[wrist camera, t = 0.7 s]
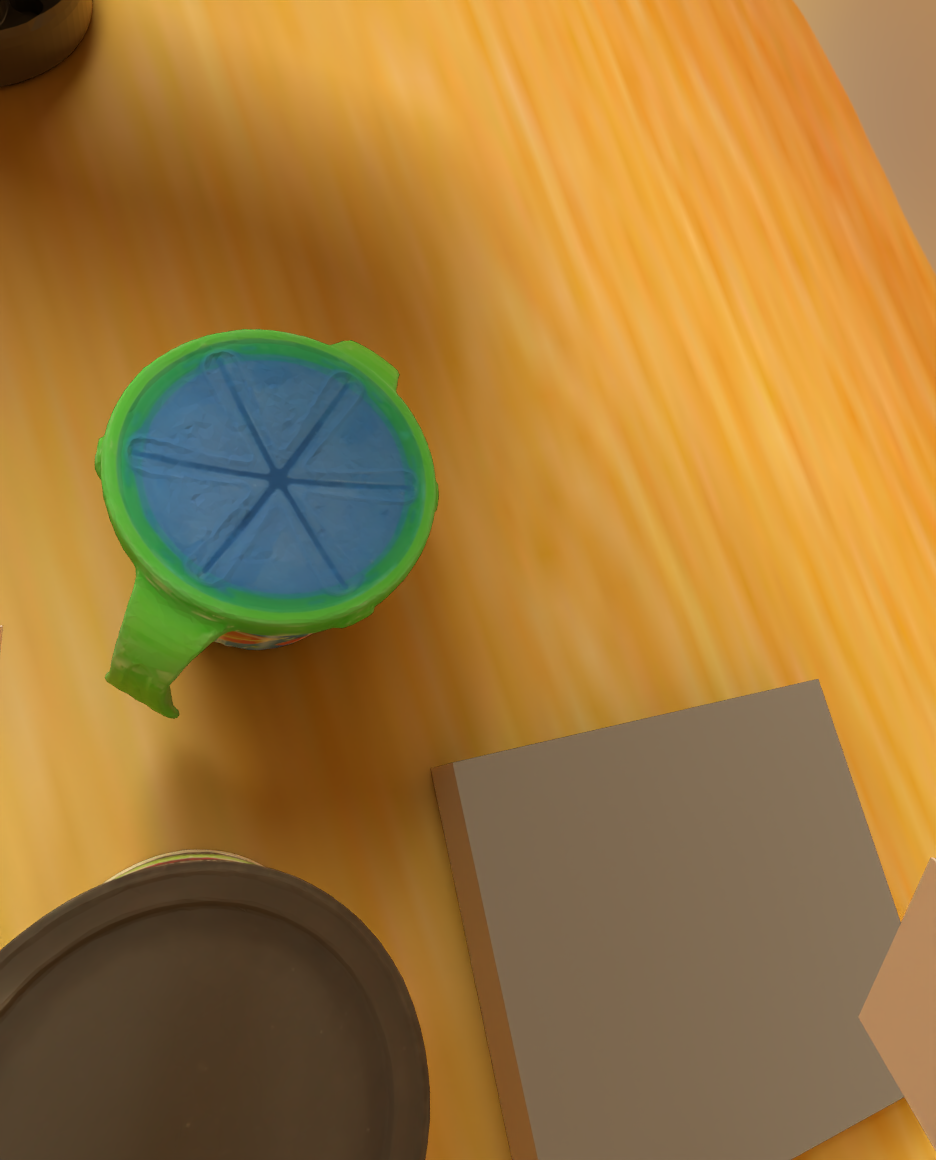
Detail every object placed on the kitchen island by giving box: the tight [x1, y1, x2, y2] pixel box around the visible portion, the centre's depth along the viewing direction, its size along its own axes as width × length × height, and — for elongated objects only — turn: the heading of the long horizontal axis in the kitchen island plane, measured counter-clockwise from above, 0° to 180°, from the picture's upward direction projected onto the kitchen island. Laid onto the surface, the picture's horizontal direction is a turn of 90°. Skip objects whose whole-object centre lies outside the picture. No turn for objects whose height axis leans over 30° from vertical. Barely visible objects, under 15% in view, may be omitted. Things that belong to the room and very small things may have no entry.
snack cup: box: [95, 329, 439, 719], centre depth 29 cm, size 16×10×10 cm
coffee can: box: [0, 850, 430, 1160], centre depth 21 cm, size 10×10×14 cm
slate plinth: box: [431, 679, 904, 1160], centre depth 33 cm, size 18×20×3 cm
